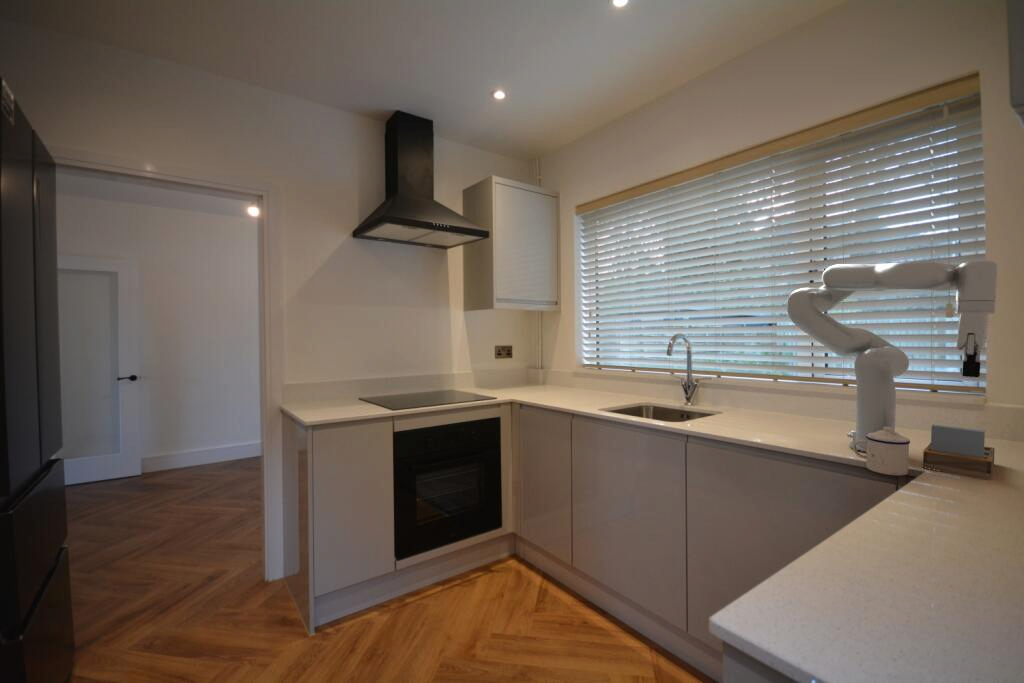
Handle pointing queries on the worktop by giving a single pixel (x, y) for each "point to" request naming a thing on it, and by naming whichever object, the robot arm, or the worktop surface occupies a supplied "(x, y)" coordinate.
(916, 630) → the worktop surface
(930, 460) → the rack
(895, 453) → the teacup with lid
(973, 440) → the panel
